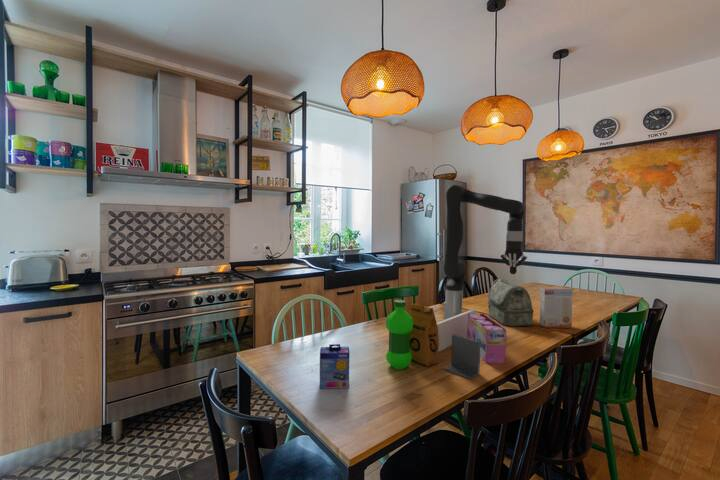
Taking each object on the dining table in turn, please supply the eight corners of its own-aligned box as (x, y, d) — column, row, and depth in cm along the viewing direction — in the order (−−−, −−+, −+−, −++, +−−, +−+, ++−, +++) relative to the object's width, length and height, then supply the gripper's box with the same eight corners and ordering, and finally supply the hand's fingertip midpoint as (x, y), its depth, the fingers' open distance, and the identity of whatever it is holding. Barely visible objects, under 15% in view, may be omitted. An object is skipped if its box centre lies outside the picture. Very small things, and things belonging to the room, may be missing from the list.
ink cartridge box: (319, 389, 108) (319, 346, 107) (319, 381, 113) (320, 339, 113) (349, 388, 109) (349, 345, 108) (348, 380, 114) (349, 339, 114)
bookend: (444, 370, 123) (445, 338, 122) (453, 364, 128) (453, 334, 127) (471, 379, 116) (471, 345, 115) (479, 373, 120) (480, 341, 120)
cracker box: (565, 325, 179) (567, 286, 178) (571, 328, 173) (573, 289, 172) (538, 324, 181) (540, 286, 180) (543, 327, 175) (545, 288, 174)
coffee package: (425, 369, 124) (426, 310, 123) (402, 358, 134) (403, 304, 133) (443, 362, 129) (444, 307, 128) (419, 352, 140) (420, 300, 138)
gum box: (465, 341, 153) (465, 312, 152) (482, 341, 153) (482, 312, 153) (485, 363, 129) (486, 329, 128) (506, 363, 129) (507, 329, 129)
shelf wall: (427, 354, 137) (427, 326, 137) (472, 332, 165) (473, 309, 165) (430, 356, 136) (430, 327, 135) (475, 333, 164) (475, 309, 164)
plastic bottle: (406, 374, 119) (407, 305, 118) (380, 367, 125) (381, 301, 123) (417, 364, 127) (418, 300, 126) (392, 358, 133) (393, 297, 132)
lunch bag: (484, 313, 201) (484, 277, 200) (514, 314, 201) (515, 278, 200) (501, 327, 175) (502, 286, 174) (536, 327, 175) (537, 286, 174)
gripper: (498, 239, 170) (497, 273, 171) (525, 240, 161) (524, 276, 162) (503, 239, 176) (502, 271, 176) (530, 240, 166) (529, 274, 167)
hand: (513, 274), depth 169 cm, fingers closed
